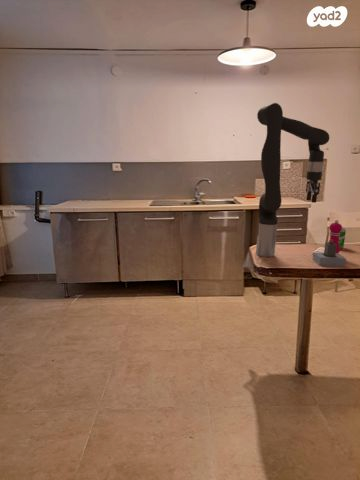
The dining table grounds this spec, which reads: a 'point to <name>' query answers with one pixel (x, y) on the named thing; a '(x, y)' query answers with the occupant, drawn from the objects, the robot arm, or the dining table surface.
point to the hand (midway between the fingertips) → (311, 201)
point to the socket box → (329, 259)
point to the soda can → (342, 238)
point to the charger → (330, 249)
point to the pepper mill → (335, 234)
